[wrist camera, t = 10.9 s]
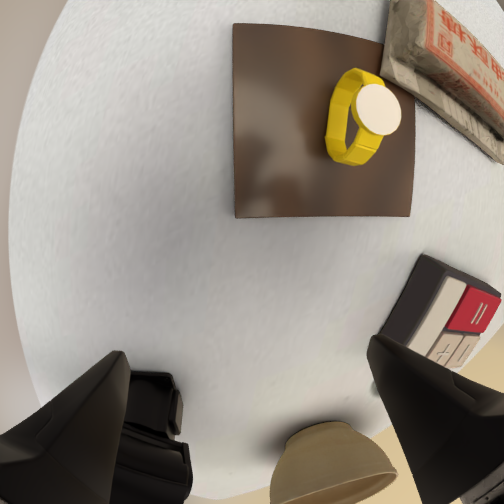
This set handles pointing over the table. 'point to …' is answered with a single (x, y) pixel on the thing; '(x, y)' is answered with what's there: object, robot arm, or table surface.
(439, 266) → the calculator
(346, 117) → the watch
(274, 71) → the coaster
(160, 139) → the table surface
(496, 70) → the packaged product
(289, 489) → the planter bowl
